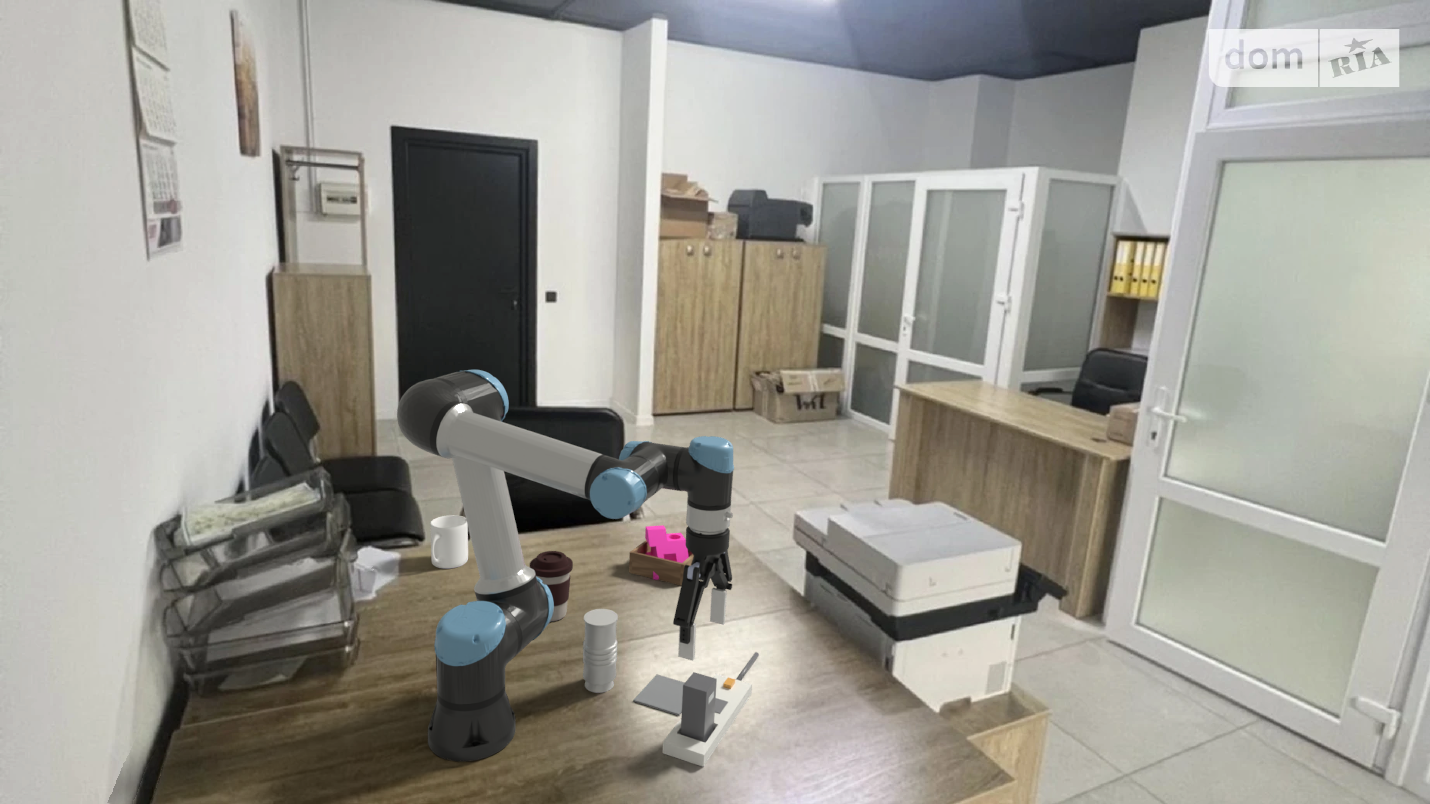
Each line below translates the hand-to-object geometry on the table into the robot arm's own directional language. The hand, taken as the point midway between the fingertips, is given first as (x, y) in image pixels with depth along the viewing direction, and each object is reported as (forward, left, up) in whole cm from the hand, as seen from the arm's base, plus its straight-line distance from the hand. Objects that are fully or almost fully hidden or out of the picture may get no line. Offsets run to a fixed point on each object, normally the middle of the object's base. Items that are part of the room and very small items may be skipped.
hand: (702, 639), depth 136 cm
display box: (+62, +37, -20) cm, 75 cm away
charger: (0, 0, -20) cm, 20 cm away
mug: (+36, +90, -21) cm, 99 cm away
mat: (+10, +11, -20) cm, 25 cm away
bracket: (+62, +37, -20) cm, 75 cm away
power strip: (+13, 0, -20) cm, 24 cm away
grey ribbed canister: (+7, +25, -21) cm, 33 cm away
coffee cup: (+26, +50, -21) cm, 60 cm away
